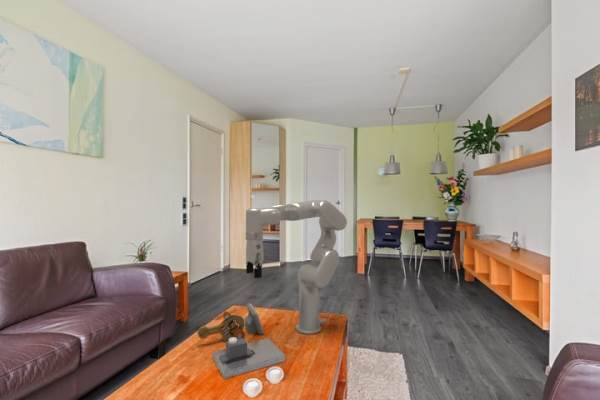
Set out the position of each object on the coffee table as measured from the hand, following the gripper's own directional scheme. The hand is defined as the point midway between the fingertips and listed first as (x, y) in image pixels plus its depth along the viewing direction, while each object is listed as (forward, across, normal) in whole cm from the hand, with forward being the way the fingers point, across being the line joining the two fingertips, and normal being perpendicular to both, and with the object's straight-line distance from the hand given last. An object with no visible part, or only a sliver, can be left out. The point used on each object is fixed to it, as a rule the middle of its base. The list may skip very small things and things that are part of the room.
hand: (253, 275), depth 129 cm
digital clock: (+31, +14, -7) cm, 34 cm away
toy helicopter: (+31, +9, +10) cm, 33 cm away
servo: (+30, -11, +11) cm, 34 cm away
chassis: (+30, -11, +6) cm, 33 cm away
